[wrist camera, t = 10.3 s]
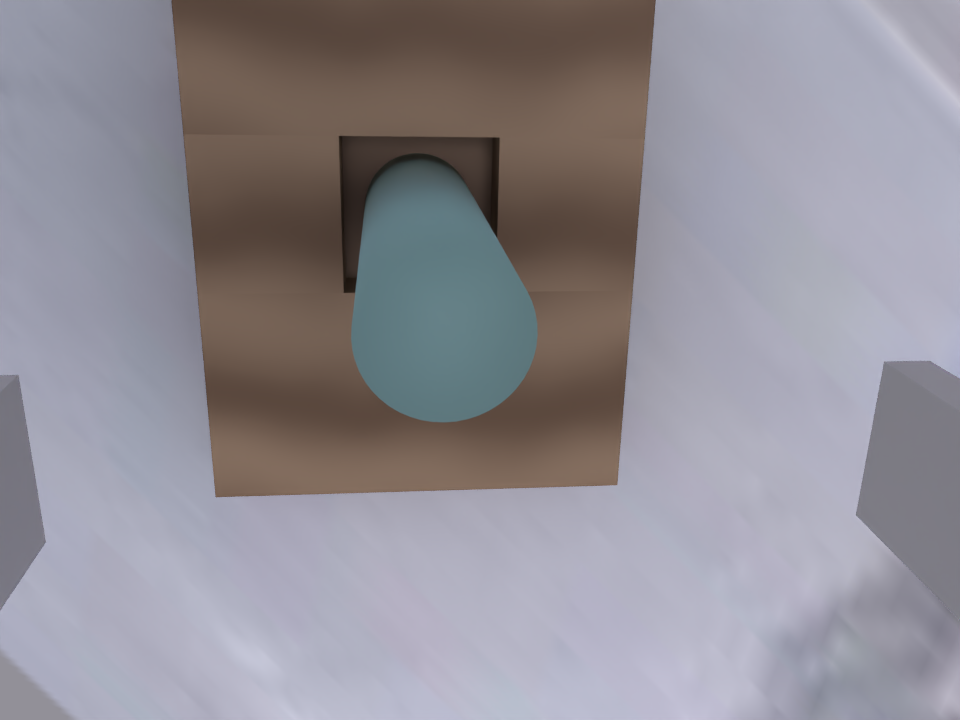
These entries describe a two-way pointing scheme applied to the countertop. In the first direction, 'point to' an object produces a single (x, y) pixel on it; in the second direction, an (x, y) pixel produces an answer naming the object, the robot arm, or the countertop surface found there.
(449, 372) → the pin
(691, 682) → the countertop surface
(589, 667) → the countertop surface
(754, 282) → the countertop surface
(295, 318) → the bore block
